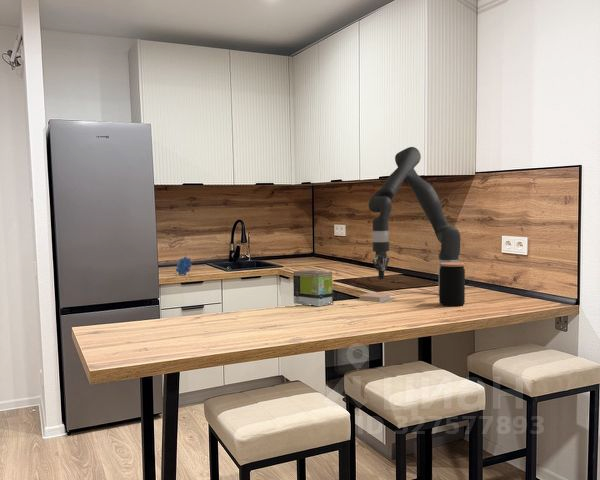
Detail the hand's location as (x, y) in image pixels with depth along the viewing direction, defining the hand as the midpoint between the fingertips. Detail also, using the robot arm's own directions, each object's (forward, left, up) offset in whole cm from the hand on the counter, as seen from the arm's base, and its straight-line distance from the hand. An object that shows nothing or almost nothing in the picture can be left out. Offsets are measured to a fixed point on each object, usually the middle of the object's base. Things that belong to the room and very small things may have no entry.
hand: (381, 279), depth 256 cm
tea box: (+23, +22, -10) cm, 34 cm away
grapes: (+161, -34, -10) cm, 165 cm away
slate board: (+1, +4, -10) cm, 11 cm away
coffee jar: (-30, -7, -10) cm, 33 cm away
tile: (+1, +1, -8) cm, 8 cm away
